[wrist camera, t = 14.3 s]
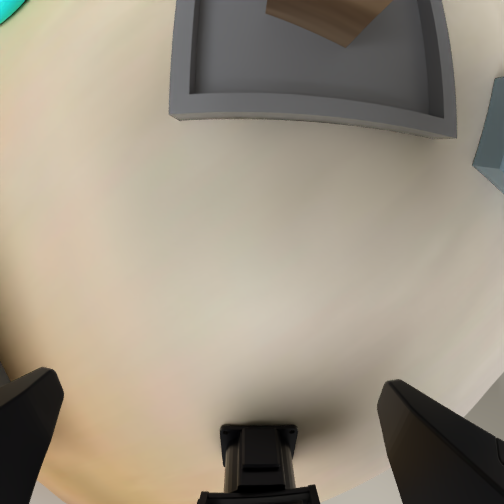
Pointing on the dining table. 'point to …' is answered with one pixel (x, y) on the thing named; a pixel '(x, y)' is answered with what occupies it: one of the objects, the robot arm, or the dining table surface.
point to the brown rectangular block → (328, 16)
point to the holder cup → (493, 139)
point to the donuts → (8, 8)
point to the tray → (314, 68)
